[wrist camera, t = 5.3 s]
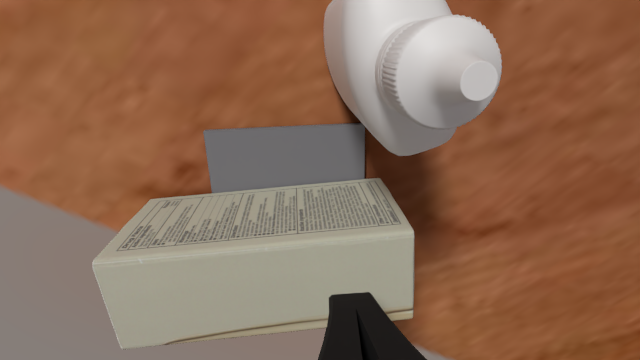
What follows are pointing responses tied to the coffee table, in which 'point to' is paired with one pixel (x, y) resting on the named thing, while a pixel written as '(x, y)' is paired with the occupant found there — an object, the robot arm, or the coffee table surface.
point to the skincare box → (254, 262)
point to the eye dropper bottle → (410, 68)
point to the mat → (284, 156)
